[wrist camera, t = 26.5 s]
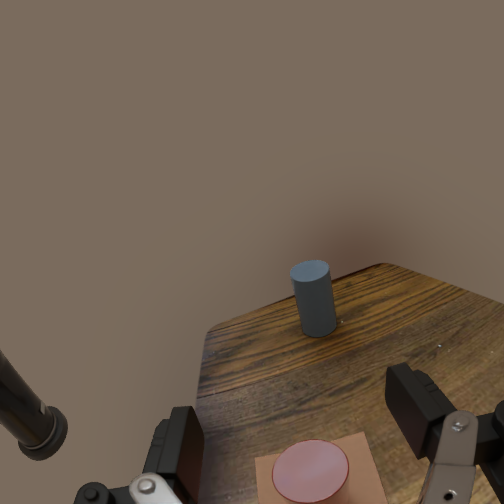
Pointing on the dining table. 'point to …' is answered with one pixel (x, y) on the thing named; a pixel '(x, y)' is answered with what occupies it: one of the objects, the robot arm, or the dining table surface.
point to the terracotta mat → (360, 474)
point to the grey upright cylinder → (314, 297)
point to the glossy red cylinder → (312, 473)
